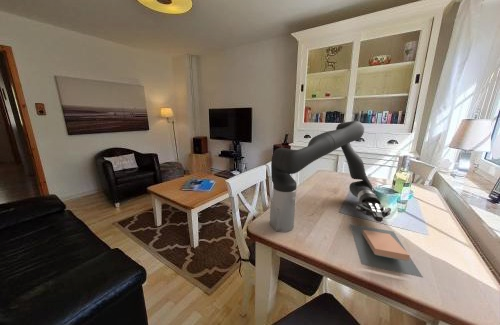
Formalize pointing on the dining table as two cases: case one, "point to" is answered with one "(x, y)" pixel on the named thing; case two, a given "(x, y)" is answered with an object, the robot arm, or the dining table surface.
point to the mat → (380, 261)
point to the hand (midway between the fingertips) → (379, 219)
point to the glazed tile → (385, 245)
